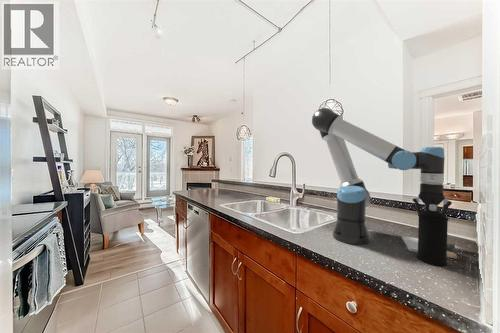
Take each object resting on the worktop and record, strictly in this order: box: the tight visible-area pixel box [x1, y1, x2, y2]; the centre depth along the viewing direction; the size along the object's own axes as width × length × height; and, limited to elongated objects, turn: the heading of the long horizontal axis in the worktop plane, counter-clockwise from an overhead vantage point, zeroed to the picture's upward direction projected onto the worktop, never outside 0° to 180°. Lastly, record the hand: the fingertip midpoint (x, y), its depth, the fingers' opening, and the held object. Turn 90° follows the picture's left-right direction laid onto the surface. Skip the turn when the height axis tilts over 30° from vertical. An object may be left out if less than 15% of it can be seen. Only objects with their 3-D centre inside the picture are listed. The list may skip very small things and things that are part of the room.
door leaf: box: [447, 242, 458, 260], centre depth 83 cm, size 8×15×4 cm, turn 153°
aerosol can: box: [416, 204, 449, 267], centre depth 73 cm, size 8×8×20 cm
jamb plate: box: [401, 235, 418, 253], centre depth 87 cm, size 7×15×1 cm, turn 153°
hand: (429, 237), depth 89 cm, fingers closed
